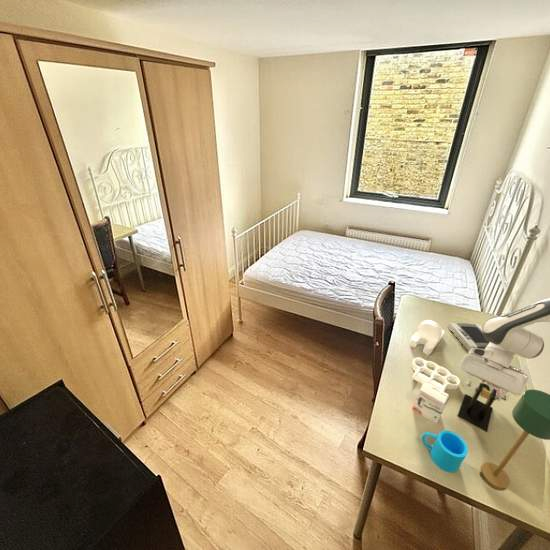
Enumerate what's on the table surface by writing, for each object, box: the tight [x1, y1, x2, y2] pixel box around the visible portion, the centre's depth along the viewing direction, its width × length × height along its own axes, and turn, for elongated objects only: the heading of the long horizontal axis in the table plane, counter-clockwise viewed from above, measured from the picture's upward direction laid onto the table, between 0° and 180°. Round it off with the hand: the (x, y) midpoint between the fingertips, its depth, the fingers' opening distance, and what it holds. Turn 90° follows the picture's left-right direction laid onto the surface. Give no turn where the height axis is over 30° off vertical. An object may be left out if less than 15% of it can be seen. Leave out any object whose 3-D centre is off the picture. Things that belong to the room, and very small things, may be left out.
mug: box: [420, 430, 469, 473], centre depth 91 cm, size 12×8×8 cm
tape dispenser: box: [408, 319, 446, 356], centre depth 137 cm, size 10×18×11 cm, turn 135°
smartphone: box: [481, 380, 507, 401], centre depth 117 cm, size 8×15×1 cm, turn 145°
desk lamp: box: [479, 389, 550, 492], centre depth 79 cm, size 9×9×34 cm
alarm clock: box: [447, 321, 489, 353], centre depth 140 cm, size 17×5×16 cm
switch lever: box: [479, 384, 491, 400], centre depth 105 cm, size 13×3×3 cm, turn 140°
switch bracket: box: [457, 382, 497, 433], centre depth 103 cm, size 12×9×13 cm
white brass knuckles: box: [411, 357, 461, 392], centre depth 119 cm, size 3×18×15 cm
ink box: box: [412, 382, 451, 424], centre depth 102 cm, size 9×5×12 cm, turn 47°
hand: (482, 392), depth 110 cm, fingers open, 8 cm apart
